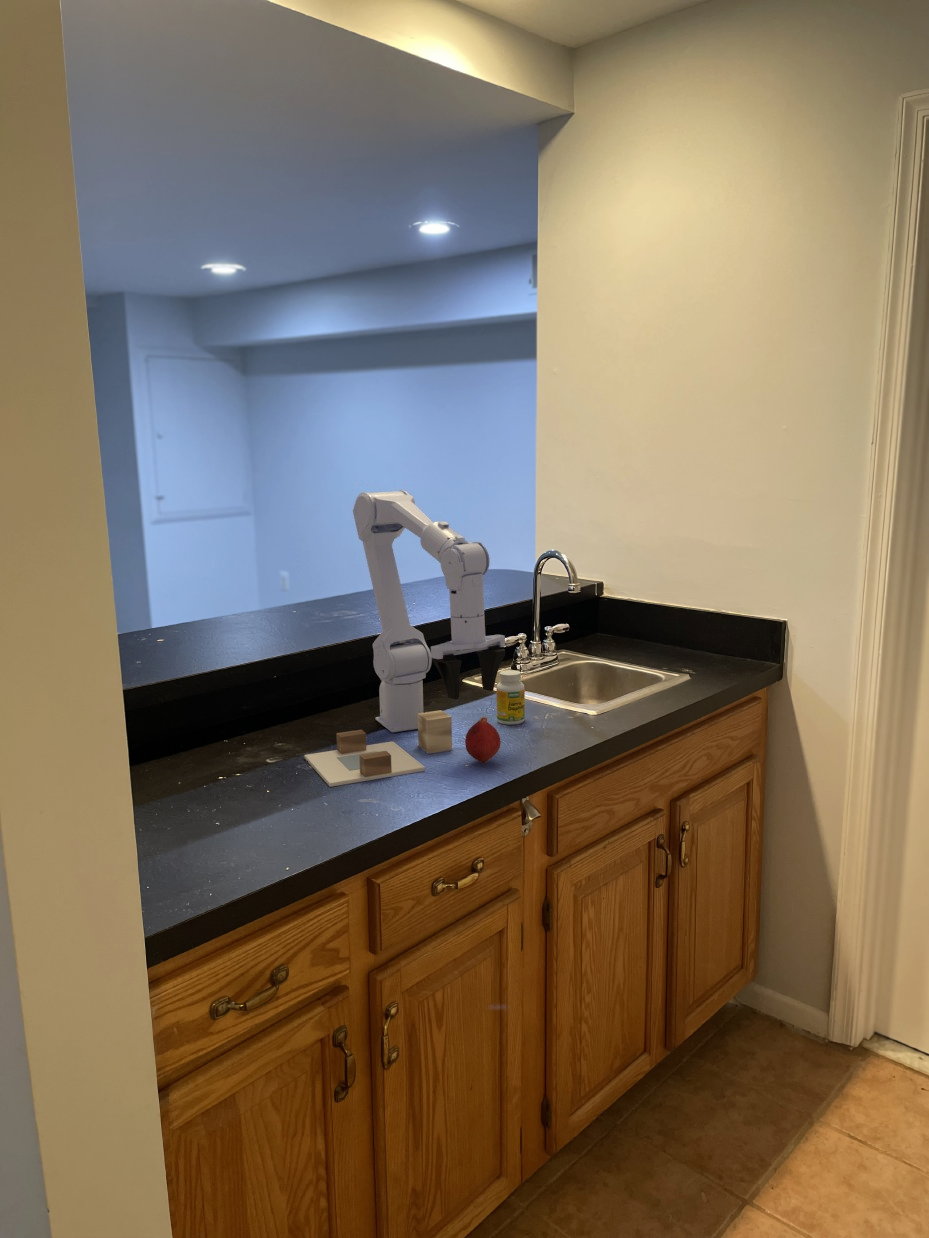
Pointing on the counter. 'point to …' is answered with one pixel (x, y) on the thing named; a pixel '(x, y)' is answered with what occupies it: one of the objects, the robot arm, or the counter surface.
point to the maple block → (434, 731)
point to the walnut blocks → (368, 762)
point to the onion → (482, 741)
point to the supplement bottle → (510, 698)
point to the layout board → (347, 765)
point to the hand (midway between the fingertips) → (471, 694)
